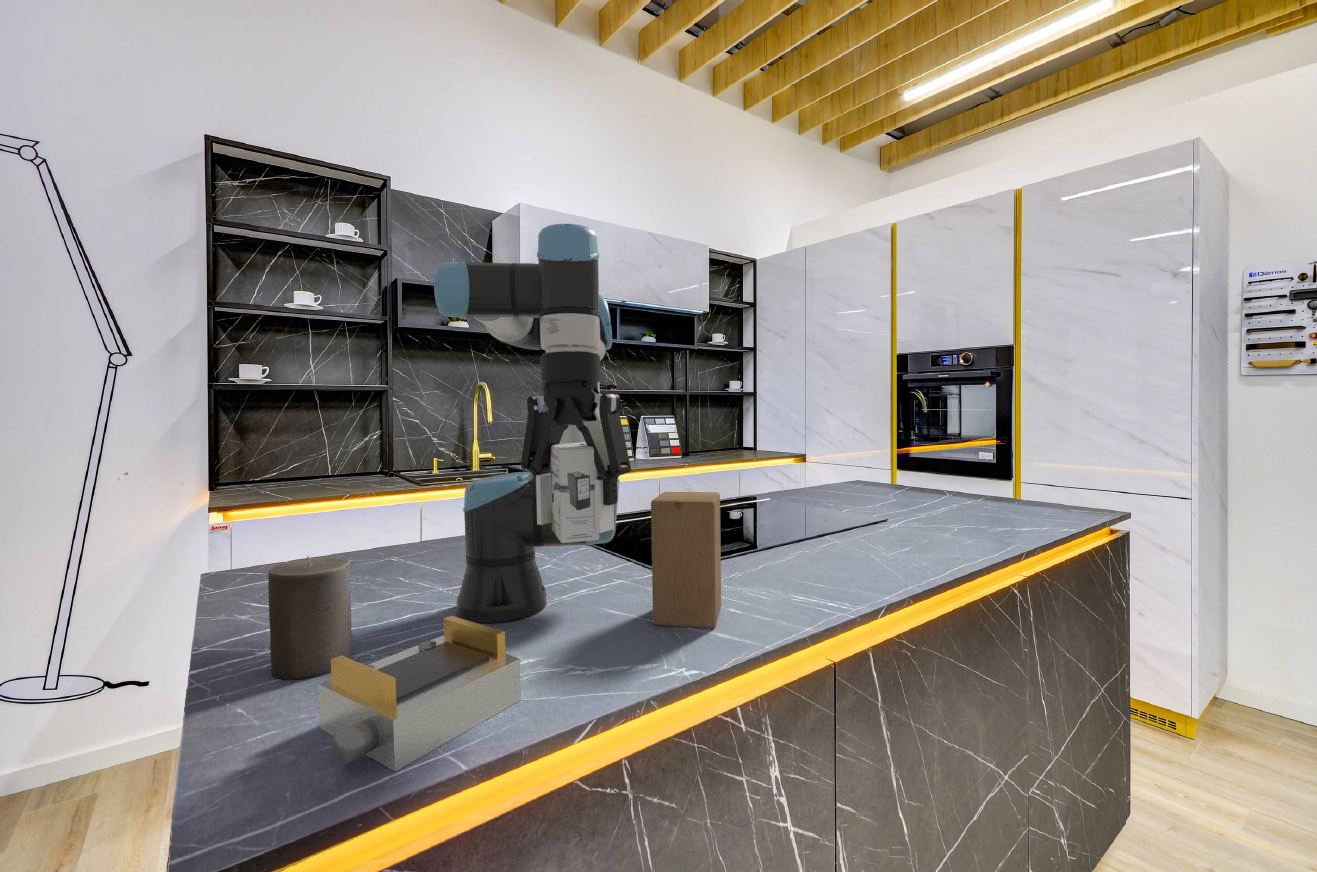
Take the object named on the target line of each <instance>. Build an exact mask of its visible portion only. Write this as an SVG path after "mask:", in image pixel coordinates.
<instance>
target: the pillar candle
mask: <svg viewBox="0 0 1317 872" xmlns="http://www.w3.org/2000/svg"><path fill="white" fill-rule="evenodd" d="M267 579H268V580H267V581H268V583H267V584H268V585H267V586H268V587H267V591H268V616H269V619H268V620H269V621H268V622H269V634H270V635H269V638H270V639H269V641H270V642H269V643H270V644H269V645H270V647H269V649H270V665H271V666H270V668H271V670H270V675H271V676H273V677H275V678H276V679H280V680H284V681H285V680H286V681H288V680H289V681H290V680H302V679H309V678H314V677H318V676H324V675H325V674H328V673H329V674H330V673H331V659H334V658H336V657H339V656H344V657H347V658H349V659H352V656H353V642H352V605H351V604H352V603H351V602H352V599H351V598H352V597H351V561H350V560H349V559H346V558H339V557H321V556H320V557H314V558H310V556H309V555H308V556H306V558H304V559H300V560H299V559H297V560H292V561H288V562H287V561H286V562H283V563H281V564H277V565H275V566H272V567H271V568H269V570H268V578H267Z"/></svg>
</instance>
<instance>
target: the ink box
mask: <svg viewBox="0 0 1317 872" xmlns="http://www.w3.org/2000/svg"><path fill="white" fill-rule="evenodd" d="M550 462H551V510H552V530H553V532H554V533H555V535H556V536H557V537H558V539H559V540H560V542H561V543H570V542H581V541H592V540H599V533H597V532H596V524H595V480H596V479H597V478H596V477H598V472H597V468H596V466H595V463H594V448H593V447H589V446H587V444H586V442H579V443H566V444H557V445H552V446H551V456H550Z"/></svg>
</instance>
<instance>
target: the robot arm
mask: <svg viewBox="0 0 1317 872" xmlns="http://www.w3.org/2000/svg"><path fill="white" fill-rule="evenodd" d="M537 238H538V241H537V242H538V243H537V251H536V252H537V253H536V257H537V260H538V262H537V263H536V262H535V263H533V262H531V263H530V262H528V263H527V262H526V263H525V262H512V263H509V262H508V263H507V262H506V263H505V262H475V261H473V262H472V261H464V260H460V261H453V262H450V261H449V262H441V263H439V264H438V265H437V266H436V267H435V271H434V276H433V289H434V299H435V303H436V306H437V309H438V311H439V313H440V314H441V315H442V316H444V317H451V318H459V319H464V318H473V319H475V320H477V321H478V322H480V323H481V324H483V325H484V327H485V328H486V331H487V332H488V333H489V334H490V335H491V336H492V337H494V338H495V339H496V340H498V341H499V342H503V343H505V344H508V345H510V346H514V347H517V348H522V349H528V350H533V351H534V350H536V351H539V350H542V351H545V352H544V353H542V354H541V356H540V379H541V381H542V382H543V383H544V384H545V391H544V394H543V395H541V396H531V395H530V396H528V397H527V398H526V404H527V405H526V406H527V419H526V425H525V426H526V427H525V432H524V433H525V434H524V441H523V446H522V452H521V461H520V466H521V468H522V470H528V471H521V472H520V471H518V472H517V471H516V472H510V473H504V474H502V473H501V474H498V475H492V476H487V477H483V478H479V479H476V480H473V481H471V482H469V483H468V484H467V485H466V487H465V488H464V499H463V500H464V501H463V503H464V506H463V508H462V511H463V513H464V536H465V540H464V541H465V565H466V566H465V570H464V573H463V578H462V580H461V586H460V589H459V590H460V591H459V593H458V596H457V597H456V614H457V616H458V618H461V619H464V620H468V621H471V622H474V623H501V622H509V621H511V622H512V621H515V620H516V621H517V620H520V619H523V618H527V617H530V616H533V615H536V614H537V613H539V612H541V611H542V610H544V609H545V608H546V606H547V589H546V587H545V586H544V585H543V579H542V577H541V574H540V570H539V568H538V565H537V562H536V548H540V547H541V548H542V547H565V546H584V545H585V546H586V547H587V546H591V545H597V544H606V543H609V542H611V541H612V539H614V536H615V534H616V526H617V525H616V524H617V515H618V514H617V513H618V504H619V492H620V476H624V475H625V474H628V473H631V470H632V465H631V461H630V457H629V453H628V452H629V451H628V447H627V444H626V439H625V434H624V429H623V425H622V420H621V416H620V405H621V398H620V397H621V396H620V395H619V394H617V393H615V394H614V393H601V391H600V390H601V389H600V388H601V387H600V381H601V377H602V374H601V361H602V360H603V359H604V357H605V356H606V351H607V350H610V349H611V348H612V345H613V331H612V325H611V315H610V310H609V309H610V308H609V306H608V302H607V300H606V299H605V297H604V296H602V295H600V291H599V288H600V287H599V285H600V284H599V281H600V280H599V279H600V278H599V259H600V253H599V249H598V236H597V233H596V232H595V231H594V230H593V229H591V227H587V226H585V225H582V224H576V223H556V224H550V225H547V226H545V227H543V228H542V229H540V231H539V233H538V237H537ZM579 442H586V444H587V446H589V447H593V448H594V463H595V466H596V468H597V472H598V477H596V478H597V479H596V480H595V524H596V532H597V533H599V540H592V541H581V542H570V543H561V542H560V540H559V539H558V537H557V536H556V535H555V533H554V532H553V530H552V510H551V462H550V456H551V446H552V445H557V444H566V443H579Z"/></svg>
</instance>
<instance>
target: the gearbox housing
mask: <svg viewBox="0 0 1317 872" xmlns="http://www.w3.org/2000/svg"><path fill="white" fill-rule="evenodd" d="M521 686H522V685H521V659H520V658H519V657H517V656H514V655H510V654H507V653H506V630H502V629H500V628H495V627H492V626H488V625H484V624H481V623H479V622H474V621H469V620H465V619H463V618H461V617H456V616H453V615H450V616H448V617H445V618H443V635H441V636H439V637H436V638H434V639H431V640H425V641H423V642H420V643H419V644H418V645H415V646H413V647H409V648H407V649H404V650H402V651H399V652H397V653H394V654H391V655H388V656H387V657H384V658H381V659H379V660H376V661H374V662H371V663H369V664H363V663H362V662H360V661H359V662H358V661H356V660H354V659H352V658H351V659H349V658H347V657H344V656H339V657H336V658H334V659H331V672H330V679H328V680H325V681H323V682H322V681H321V682H320V683H318V706H319V709H318V710H319V726H320V727H319V728H320V730H321V731H323V732H325V733H327V734H329V735H330V736H332V738H331V747H332V752H333V755H334V758H335V760H336V761H337V762H338V764H340V765H341V766H346V765H347V764H349V763H351V762H353V761H355V760H357V759H359V758H360V757H361V758H362V756H367V757H369V758H370V759H372V760H374V761H376V762H377V763H379V764H381V765H383V766H384V767H386V768H388V769H390V770H391V771H394V772H398V771H399V770H401V769H403V768H404V767H406V766H409V764H411V763H414V762H415V761H416V760H418V759H421V757H424V756H425V755H427V754H428V753H430V752H432V751H434V750H436V749H437V748H439V747H441V746H443V745H444V744H447V743H448V742H450V741H452V740H454V739H455V738H457V737H458V736H460V735H462V734H464V733H465V732H466V733H467V731H469V730H471V729H472V728H474V727H477V725H479V724H482V723H483V722H485V721H486V720H488V719H490V718H491V717H494V716H495V715H498V714H499V713H501V712H502V711H504V710H506V709H508V708H509V707H511V706H513V705H515V704H517V703H518V702H520V701H521V700H522V693H521V691H522V687H521Z"/></svg>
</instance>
